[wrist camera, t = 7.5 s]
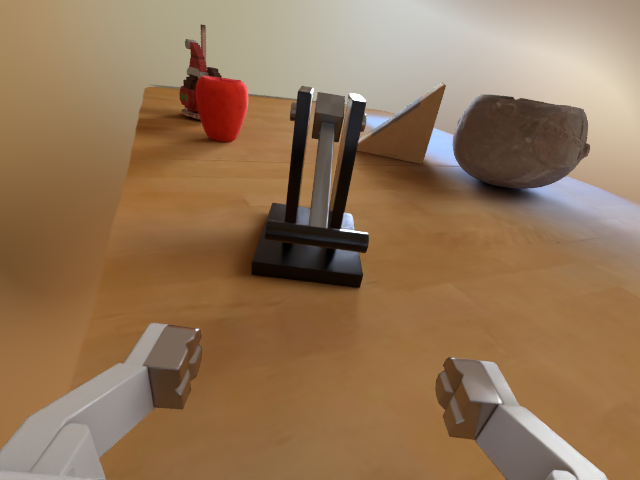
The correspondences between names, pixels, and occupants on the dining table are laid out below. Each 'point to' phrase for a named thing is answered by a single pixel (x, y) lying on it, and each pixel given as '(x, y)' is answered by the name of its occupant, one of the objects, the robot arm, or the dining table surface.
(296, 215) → the bracket
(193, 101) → the cake
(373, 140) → the sandwich container
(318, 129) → the lever
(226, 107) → the apple
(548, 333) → the dining table surface
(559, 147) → the clay pot
